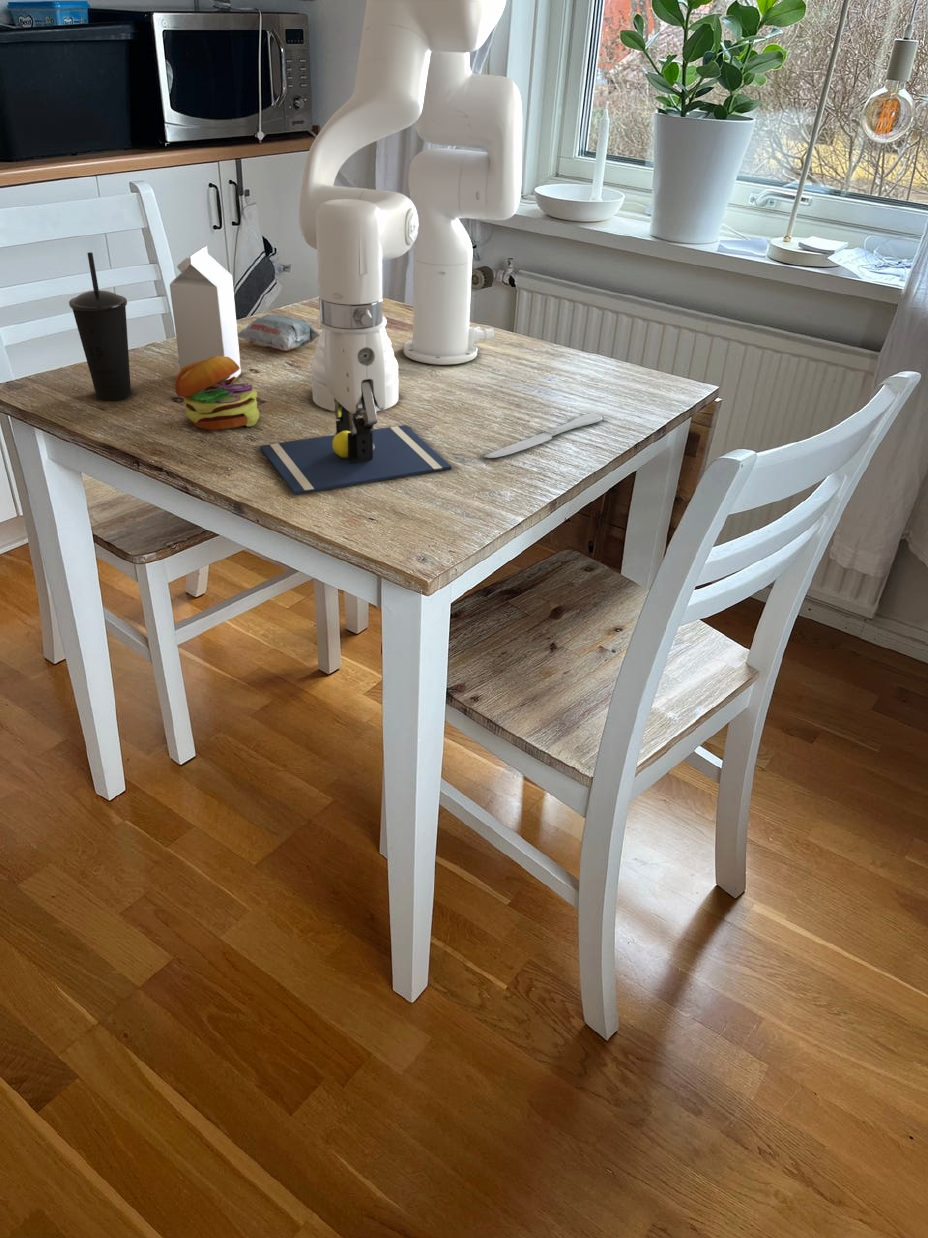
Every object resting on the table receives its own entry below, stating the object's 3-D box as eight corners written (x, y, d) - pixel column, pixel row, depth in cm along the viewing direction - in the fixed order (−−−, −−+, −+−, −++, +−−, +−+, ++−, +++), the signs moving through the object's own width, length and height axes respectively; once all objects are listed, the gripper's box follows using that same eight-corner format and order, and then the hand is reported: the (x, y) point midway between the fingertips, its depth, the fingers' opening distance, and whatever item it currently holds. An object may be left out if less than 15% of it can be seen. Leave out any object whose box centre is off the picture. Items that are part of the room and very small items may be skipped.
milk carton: (241, 373, 149) (229, 247, 139) (227, 388, 143) (214, 257, 133) (197, 370, 149) (182, 244, 139) (182, 385, 143) (165, 254, 133)
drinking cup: (93, 385, 142) (68, 245, 131) (145, 386, 142) (124, 247, 132) (80, 403, 135) (52, 258, 124) (135, 404, 136) (112, 259, 125)
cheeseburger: (240, 438, 127) (216, 365, 122) (176, 444, 131) (150, 374, 126) (276, 412, 135) (255, 343, 130) (214, 418, 139) (191, 351, 134)
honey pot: (294, 396, 142) (287, 271, 132) (359, 377, 150) (356, 259, 140) (351, 420, 134) (348, 290, 125) (415, 399, 142) (417, 276, 133)
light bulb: (326, 456, 122) (328, 428, 122) (366, 460, 126) (367, 433, 125) (339, 457, 120) (341, 429, 119) (379, 461, 123) (381, 433, 123)
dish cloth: (406, 427, 133) (406, 424, 133) (451, 468, 122) (451, 465, 122) (260, 448, 125) (259, 445, 125) (294, 494, 114) (294, 491, 113)
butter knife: (607, 417, 138) (591, 411, 140) (493, 459, 124) (477, 452, 125) (606, 419, 138) (591, 414, 140) (493, 462, 124) (477, 455, 125)
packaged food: (289, 360, 155) (287, 330, 152) (234, 346, 160) (231, 317, 157) (321, 347, 162) (320, 318, 159) (267, 335, 166) (265, 306, 164)
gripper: (407, 328, 108) (406, 475, 118) (356, 292, 121) (359, 428, 131) (345, 335, 105) (349, 484, 116) (299, 297, 118) (307, 435, 128)
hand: (354, 453), depth 123 cm, fingers closed on light bulb, 3 cm apart
